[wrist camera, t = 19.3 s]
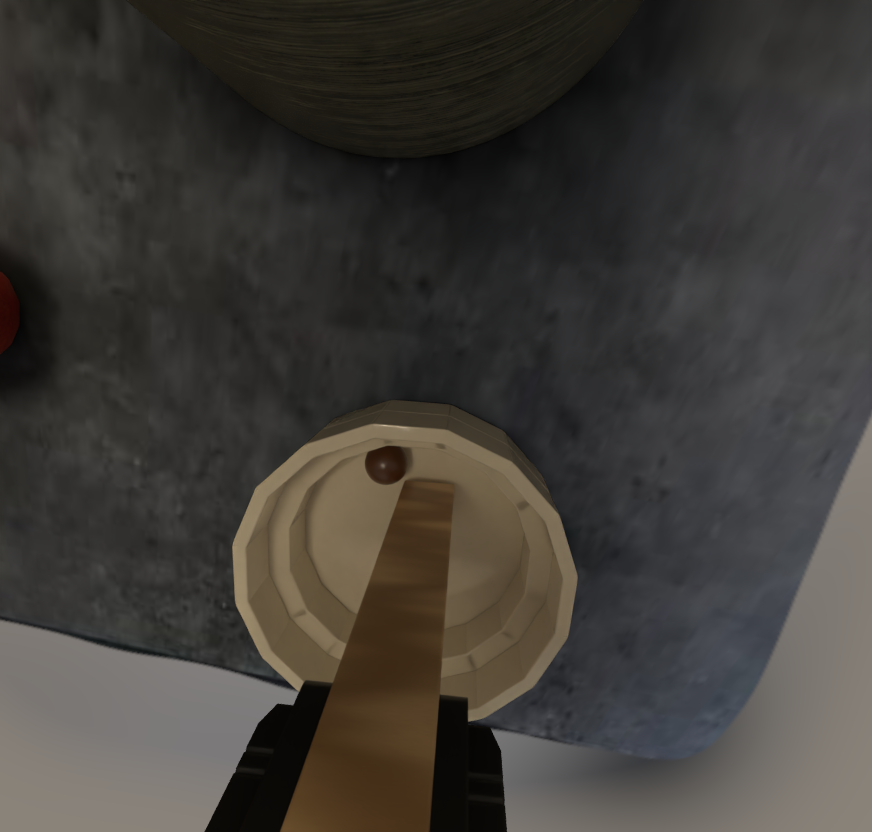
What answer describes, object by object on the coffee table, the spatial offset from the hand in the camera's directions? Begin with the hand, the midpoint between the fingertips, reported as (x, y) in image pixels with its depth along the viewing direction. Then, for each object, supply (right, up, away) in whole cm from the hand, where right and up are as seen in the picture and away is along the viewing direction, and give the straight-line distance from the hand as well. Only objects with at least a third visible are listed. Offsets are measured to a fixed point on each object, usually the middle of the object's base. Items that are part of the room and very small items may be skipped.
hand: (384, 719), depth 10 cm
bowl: (0, +1, +13) cm, 13 cm away
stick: (+1, +3, +11) cm, 12 cm away
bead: (-1, +4, +10) cm, 11 cm away
